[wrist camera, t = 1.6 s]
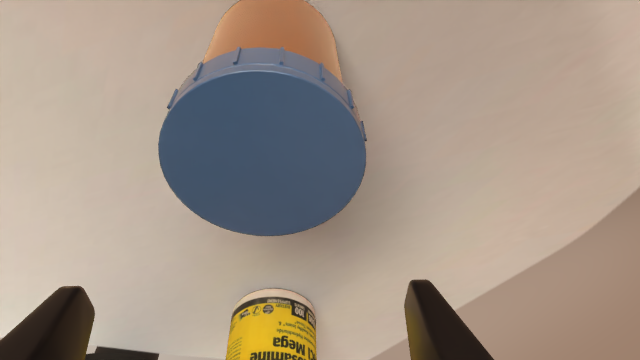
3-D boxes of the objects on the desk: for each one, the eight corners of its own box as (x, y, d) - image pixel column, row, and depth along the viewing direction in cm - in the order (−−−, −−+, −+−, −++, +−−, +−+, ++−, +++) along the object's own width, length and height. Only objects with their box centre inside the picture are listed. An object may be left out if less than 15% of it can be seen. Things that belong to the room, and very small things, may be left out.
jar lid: (354, 205, 16) (359, 235, 15) (188, 207, 16) (179, 238, 15) (369, 46, 12) (378, 69, 11) (149, 44, 12) (132, 68, 11)
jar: (333, 109, 21) (347, 218, 15) (221, 109, 21) (190, 220, 15) (339, -8, 18) (360, 74, 12) (204, -10, 18) (155, 74, 12)
